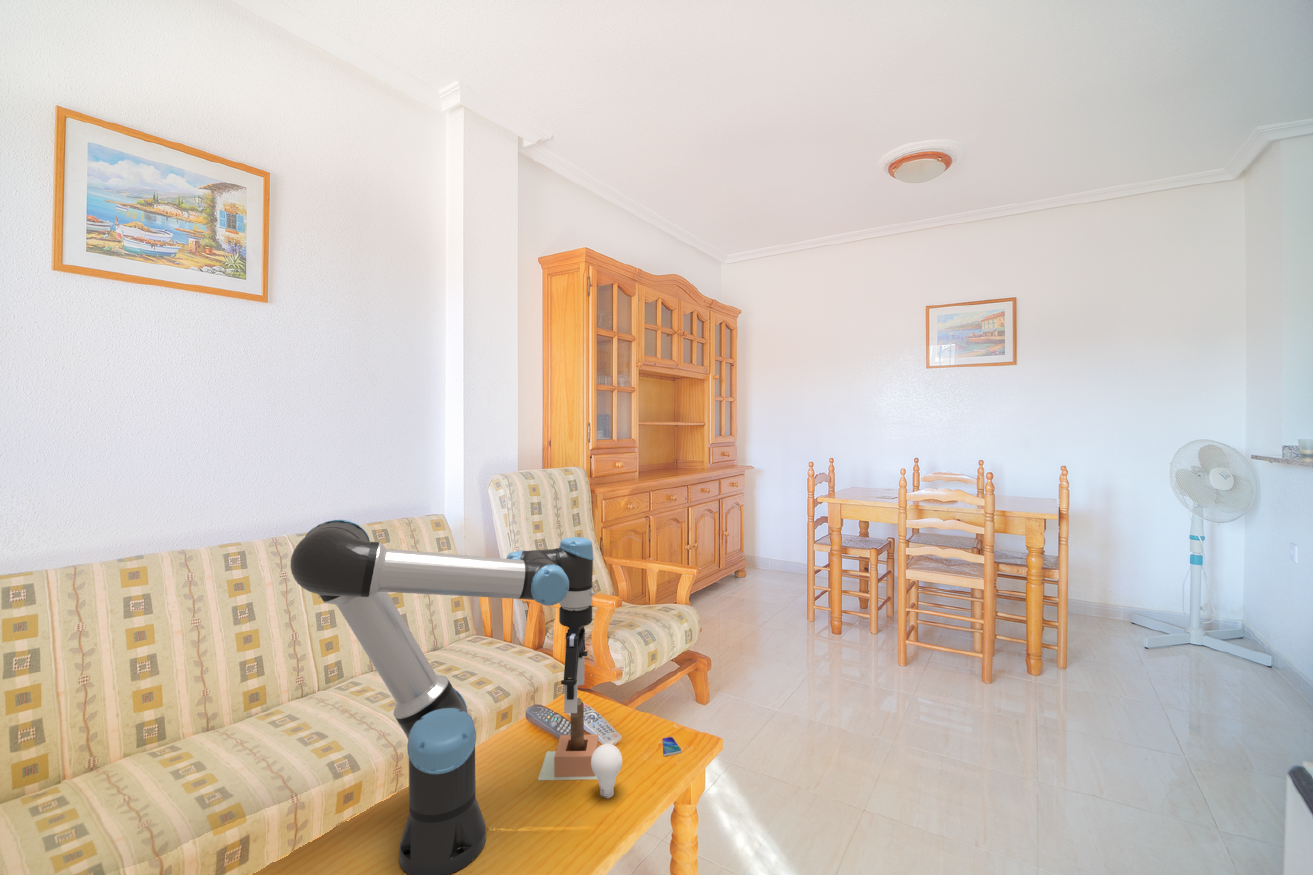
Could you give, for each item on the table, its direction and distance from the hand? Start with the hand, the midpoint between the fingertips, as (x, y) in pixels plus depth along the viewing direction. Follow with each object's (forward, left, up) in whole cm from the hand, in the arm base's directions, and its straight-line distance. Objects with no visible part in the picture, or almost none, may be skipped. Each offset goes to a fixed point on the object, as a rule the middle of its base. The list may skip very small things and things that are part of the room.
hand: (574, 697), depth 129 cm
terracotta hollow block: (0, 0, -16) cm, 16 cm away
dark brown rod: (0, 0, -16) cm, 16 cm away
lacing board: (0, 0, -16) cm, 16 cm away
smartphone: (+17, +7, -17) cm, 25 cm away
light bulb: (+8, -10, -17) cm, 21 cm away
